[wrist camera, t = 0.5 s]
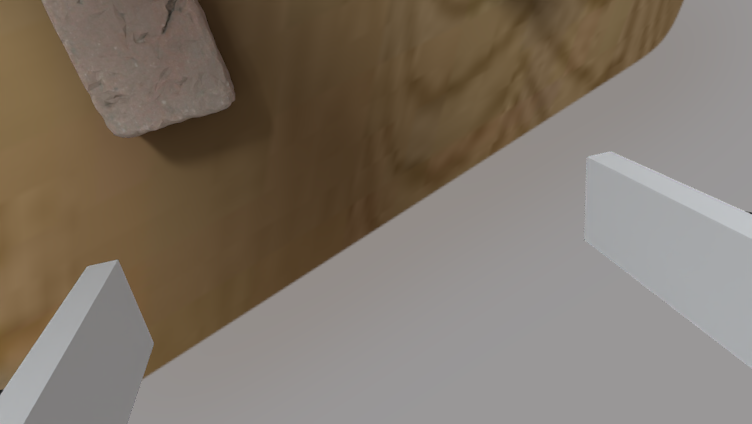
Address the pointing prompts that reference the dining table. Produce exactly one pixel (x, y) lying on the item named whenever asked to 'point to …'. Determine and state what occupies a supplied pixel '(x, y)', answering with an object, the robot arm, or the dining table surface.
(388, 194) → the dining table surface
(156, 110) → the brick
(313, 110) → the dining table surface
